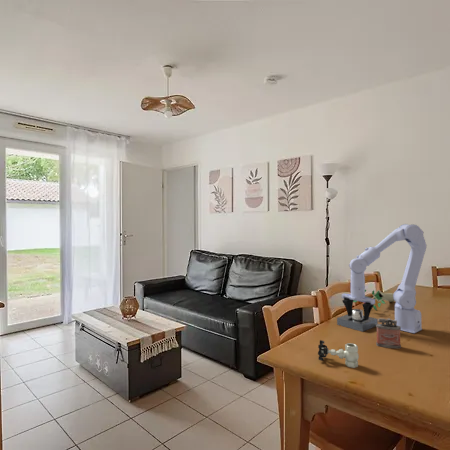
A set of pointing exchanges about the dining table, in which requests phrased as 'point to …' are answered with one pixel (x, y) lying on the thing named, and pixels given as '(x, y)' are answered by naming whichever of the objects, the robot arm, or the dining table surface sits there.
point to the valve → (341, 353)
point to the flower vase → (381, 297)
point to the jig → (357, 323)
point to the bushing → (357, 315)
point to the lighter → (388, 333)
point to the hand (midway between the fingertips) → (358, 317)
